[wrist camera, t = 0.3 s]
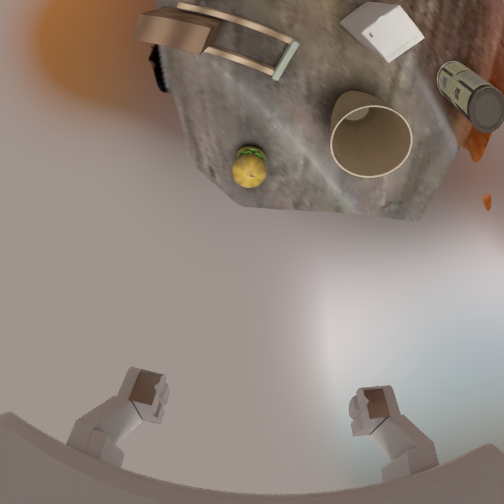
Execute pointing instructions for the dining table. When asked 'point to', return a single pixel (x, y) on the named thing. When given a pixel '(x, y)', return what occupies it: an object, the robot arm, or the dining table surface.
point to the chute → (241, 21)
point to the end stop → (285, 59)
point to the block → (177, 29)
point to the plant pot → (368, 135)
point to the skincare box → (382, 29)
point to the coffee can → (472, 96)
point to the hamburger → (249, 167)
